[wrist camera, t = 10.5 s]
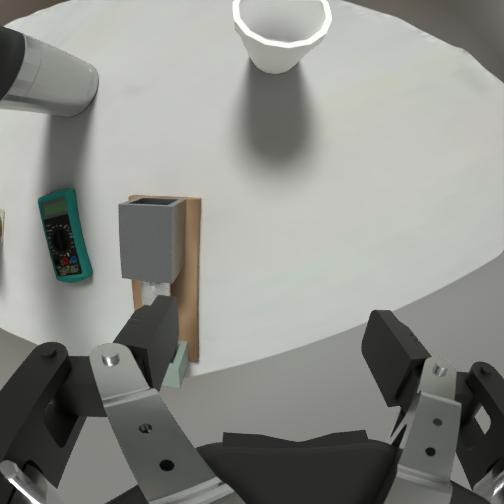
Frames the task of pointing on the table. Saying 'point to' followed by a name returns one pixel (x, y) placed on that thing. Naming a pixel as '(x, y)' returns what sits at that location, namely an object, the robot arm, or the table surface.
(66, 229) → the digital multimeter
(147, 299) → the tube
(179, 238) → the sleeve
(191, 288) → the board
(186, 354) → the socket
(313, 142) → the table surface
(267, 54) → the foam cup
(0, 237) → the condiment
